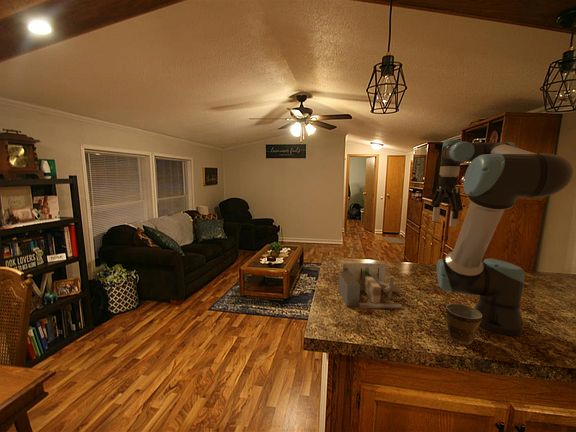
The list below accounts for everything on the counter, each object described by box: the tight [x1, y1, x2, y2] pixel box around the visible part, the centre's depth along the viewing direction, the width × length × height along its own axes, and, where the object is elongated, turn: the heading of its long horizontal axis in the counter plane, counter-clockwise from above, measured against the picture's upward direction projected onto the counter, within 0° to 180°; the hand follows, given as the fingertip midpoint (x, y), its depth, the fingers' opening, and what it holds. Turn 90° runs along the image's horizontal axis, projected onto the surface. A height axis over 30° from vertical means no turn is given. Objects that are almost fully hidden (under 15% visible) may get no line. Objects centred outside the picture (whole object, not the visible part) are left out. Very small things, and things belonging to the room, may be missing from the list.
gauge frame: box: [338, 262, 402, 309], centre depth 119 cm, size 20×22×12 cm
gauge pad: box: [363, 274, 382, 303], centre depth 120 cm, size 15×3×7 cm, turn 1°
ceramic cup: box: [438, 303, 482, 346], centre depth 91 cm, size 13×10×10 cm
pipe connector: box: [379, 275, 404, 300], centre depth 118 cm, size 10×10×10 cm
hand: (443, 223), depth 124 cm, fingers open, 13 cm apart
